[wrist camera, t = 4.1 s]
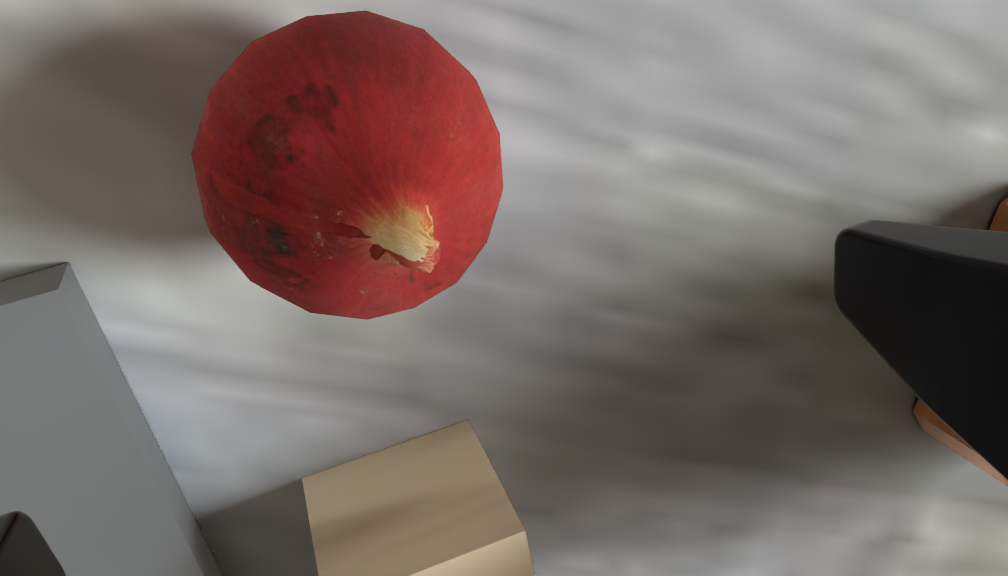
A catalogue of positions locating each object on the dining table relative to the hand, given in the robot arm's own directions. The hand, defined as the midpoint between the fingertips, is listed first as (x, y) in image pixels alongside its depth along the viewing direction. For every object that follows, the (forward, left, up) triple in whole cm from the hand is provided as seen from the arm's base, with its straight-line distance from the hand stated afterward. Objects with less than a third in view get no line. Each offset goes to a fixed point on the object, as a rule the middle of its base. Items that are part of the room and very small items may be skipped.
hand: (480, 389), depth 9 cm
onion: (0, 0, -12) cm, 12 cm away
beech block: (-12, +1, -12) cm, 17 cm away
